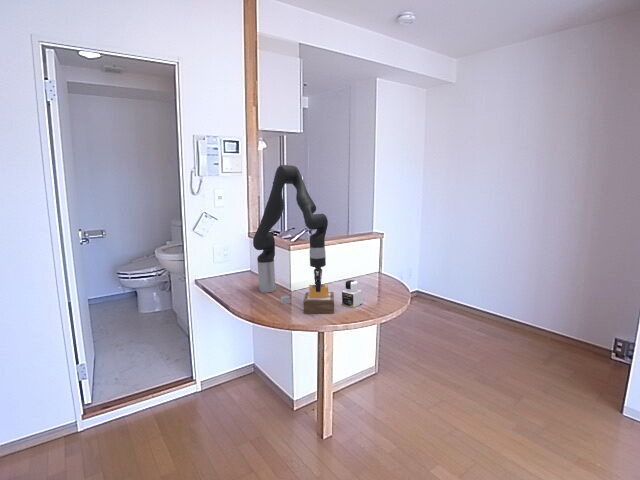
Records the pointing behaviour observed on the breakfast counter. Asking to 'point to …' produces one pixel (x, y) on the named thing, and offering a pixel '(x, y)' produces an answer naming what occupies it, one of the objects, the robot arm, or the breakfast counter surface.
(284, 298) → the grey metal block
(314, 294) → the block
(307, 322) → the breakfast counter surface
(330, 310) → the brown square box
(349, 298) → the medicine bottle
